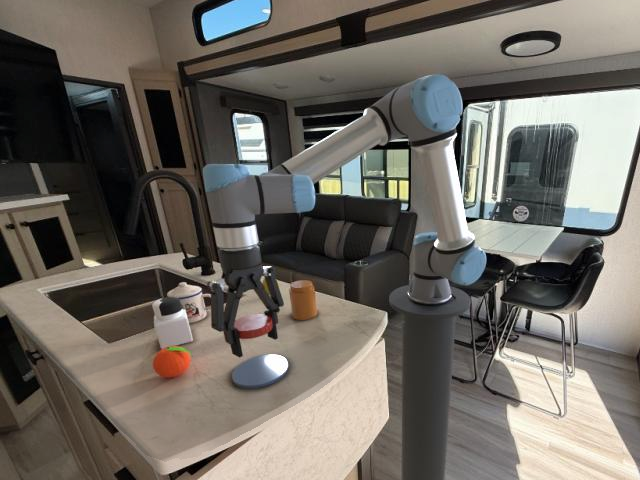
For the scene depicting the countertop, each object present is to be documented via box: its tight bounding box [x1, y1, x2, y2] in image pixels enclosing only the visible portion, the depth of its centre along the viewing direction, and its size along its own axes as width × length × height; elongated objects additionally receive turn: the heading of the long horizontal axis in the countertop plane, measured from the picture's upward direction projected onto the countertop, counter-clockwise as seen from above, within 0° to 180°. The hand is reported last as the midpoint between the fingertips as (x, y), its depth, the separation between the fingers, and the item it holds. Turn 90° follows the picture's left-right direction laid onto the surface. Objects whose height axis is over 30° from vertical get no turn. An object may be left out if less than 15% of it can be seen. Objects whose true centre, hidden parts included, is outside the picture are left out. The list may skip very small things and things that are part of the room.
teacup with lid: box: [166, 281, 211, 324], centre depth 98 cm, size 12×9×12 cm
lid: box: [234, 313, 273, 340], centre depth 69 cm, size 8×8×2 cm
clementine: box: [152, 345, 192, 378], centre depth 71 cm, size 8×7×7 cm
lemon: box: [262, 278, 280, 296], centre depth 115 cm, size 6×6×8 cm
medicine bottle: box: [151, 296, 194, 350], centre depth 85 cm, size 7×7×12 cm
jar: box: [288, 279, 318, 321], centre depth 100 cm, size 8×8×11 cm
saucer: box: [231, 353, 289, 390], centre depth 73 cm, size 12×12×1 cm
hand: (256, 345), depth 71 cm, fingers closed on lid, 8 cm apart
